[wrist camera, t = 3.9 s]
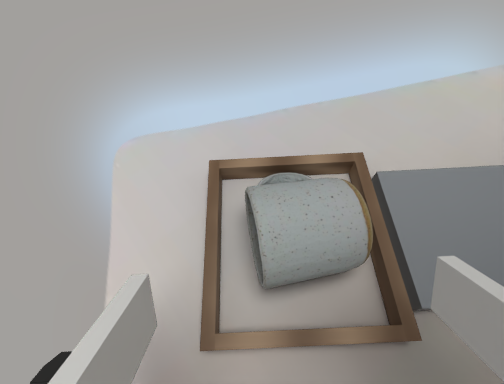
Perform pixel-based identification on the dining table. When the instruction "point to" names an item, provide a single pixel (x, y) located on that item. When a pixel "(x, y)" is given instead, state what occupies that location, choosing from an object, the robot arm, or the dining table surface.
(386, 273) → the walnut frame
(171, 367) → the dining table surface
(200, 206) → the dining table surface
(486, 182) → the grey board
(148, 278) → the robot arm
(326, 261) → the ceramic mug
